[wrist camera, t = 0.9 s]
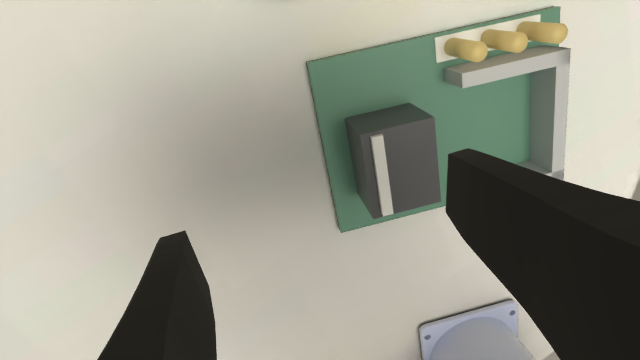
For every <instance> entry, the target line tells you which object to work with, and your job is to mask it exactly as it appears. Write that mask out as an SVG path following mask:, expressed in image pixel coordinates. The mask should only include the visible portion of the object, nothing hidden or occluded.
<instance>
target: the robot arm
mask: <svg viewBox="0 0 640 360" xmlns="http://www.w3.org/2000/svg"><path fill="white" fill-rule="evenodd" d="M446 213H447V215H448V216H449V218H450V219H451V221H452V222H453V224H454V226H455V227H456V229H457V230H458V232H459V233H460V235H461V236H462V237H463V239H464V240H465V242H466V243H467V244H468V245H469V246H470V247H471V249H472V250H473V251H474V252H475V253H476V254H477V255H478V257H479V258H480V259H481V260H482V261H483V262H484V263H485V265H486V266H487V267H488V268H489V269H490V270H491V271H492V273H493V274H494V275H495V276H496V277H497V278H498V279H499V280H500V282H501V283H502V284H503V285H504V286H505V287H506V288H507V289H508V291H509V292H510V293H511V294H512V295H513V296H514V297H515V298H516V300H517V301H518V302H519V303H520V304H521V306H522V307H523V308H524V309H525V311H526V312H527V313H528V314H529V316H530V317H531V318H532V320H533V321H534V323H535V324H536V325H537V327H538V328H539V330H540V331H541V332H542V334H543V335H544V337H545V338H546V339H547V341H548V342H549V344H550V345H551V346H552V348H553V349H554V351H555V352H556V354H557V355H558V357H559V358H560V360H640V201H636V200H632V199H627V198H623V197H619V196H615V195H611V194H607V193H603V192H599V191H596V190H592V189H589V188H586V187H582V186H579V185H576V184H572V183H569V182H566V181H563V180H560V179H557V178H554V177H551V176H548V175H545V174H542V173H539V172H536V171H533V170H530V169H528V168H525V167H522V166H519V165H517V164H514V163H511V162H508V161H506V160H503V159H500V158H497V157H494V156H492V155H489V154H486V153H483V152H480V151H477V150H473V149H470V148H467V149H463V150H460V151H456V152H453V153H450V154H448V169H447V192H446ZM510 311H511V312H510ZM419 334H420V342H421V351H422V359H423V360H536V359H535V358H534V357H533V356H532V355H531V353H530V352H529V351H528V350H527V349H526V347H525V346H524V345H523V344H522V343H521V341H520V340H519V339H518V304H517V303H516V302H515V301H514V300H509V301H505V302H502V303H498V304H495V305H491V306H487V307H484V308H480V309H477V310H473V311H470V312H466V313H463V314H459V315H456V316H452V317H449V318H445V319H442V320H438V321H434V322H431V323H427V324H424V325H422V326H421V327H420V329H419ZM426 335H427V336H426ZM97 360H217V354H216V332H215V319H214V313H213V307H212V301H211V295H210V289H209V285H208V283H207V281H206V278H205V276H204V274H203V271H202V269H201V267H200V264H199V262H198V260H197V257H196V255H195V253H194V250H193V248H192V246H191V243H190V241H189V239H188V236H187V234H186V231H182V232H178V233H175V234H172V235H168V236H165V237H161V238H160V239H159V241H158V242H157V244H156V247H155V249H154V251H153V254H152V256H151V258H150V261H149V263H148V265H147V267H146V270H145V272H144V274H143V276H142V278H141V280H140V283H139V285H138V287H137V289H136V291H135V293H134V295H133V297H132V299H131V301H130V303H129V305H128V307H127V309H126V311H125V313H124V314H123V316H122V318H121V320H120V322H119V323H118V325H117V327H116V329H115V330H114V332H113V334H112V336H111V338H110V339H109V341H108V343H107V345H106V346H105V348H104V350H103V351H102V353H101V354H100V356H99V358H98V359H97Z"/></svg>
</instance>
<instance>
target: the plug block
mask: <svg viewBox="0 0 640 360" xmlns="http://www.w3.org/2000/svg"><path fill="white" fill-rule="evenodd" d="M345 124H346V129H347V135H348V141H349V147H350V153H351V159H352V165H353V170H354V176H355V182H356V188H357V194H358V195H359V197H360V198H361V200H362V202H363V203H364V205H365V207H366V208H367V210H368V211H369V213H370V215H371V216H372V218H373V219H376V218H380V217H384V216H388V215H392V214H396V213H400V212H403V211H407V210H411V209H415V208H419V207H423V206H427V205H430V204H434V203H438V202H441V193H440V180H439V167H438V155H437V142H436V130H435V117H434V116H432V115H430V114H428V113H427V112H425V111H423V110H422V109H420V108H418V107H416V106H415V105H413V104H411V103H406V104H402V105H397V106H393V107H389V108H385V109H381V110H376V111H372V112H368V113H364V114H359V115H355V116H351V117H347V118H345Z"/></svg>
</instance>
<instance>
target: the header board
mask: <svg viewBox="0 0 640 360" xmlns="http://www.w3.org/2000/svg"><path fill="white" fill-rule="evenodd" d="M567 33H568V30H567V27H566V25H565V24H562V23H560V7H549V8H545V9H540V10H536V11H531V12H527V13H522V14H518V15H513V16H509V17H504V18H500V19H495V20H491V21H487V22H482V23H478V24H473V25H469V26H464V27H460V28H455V29H451V30H446V31H442V32H437V33H433V34H428V35H424V36H419V37H415V38H410V39H406V40H401V41H397V42H393V43H388V44H384V45H379V46H375V47H370V48H366V49H361V50H357V51H352V52H348V53H343V54H339V55H334V56H330V57H325V58H321V59H316V60H312V61H307V62H306V64H307V69H308V74H309V79H310V84H311V89H312V94H313V99H314V104H315V109H316V114H317V119H318V124H319V129H320V134H321V139H322V144H323V149H324V154H325V159H326V165H327V170H328V175H329V180H330V185H331V190H332V195H333V200H334V205H335V210H336V215H337V220H338V225H339V229H340V231H341V233H343V232H346V231H350V230H354V229H358V228H362V227H366V226H370V225H373V224H377V223H381V222H385V221H389V220H393V219H397V218H400V217H404V216H408V215H412V214H416V213H420V212H423V211H427V210H431V209H435V208H439V207H443V206H446V192H447V169H448V154H450V153H453V152H456V151H460V150H463V149H467V148H470V149H473V150H477V151H480V152H483V153H486V154H489V155H492V156H494V157H497V158H500V159H503V160H506V161H508V162H511V163H514V164H517V165H519V166H522V167H525V168H528V169H530V170H533V171H536V172H539V173H542V174H545V175H548V176H551V177H554V178H557V179H560V180H563V179H564V160H565V142H566V123H567V105H568V86H569V68H570V49H571V48H564V47H559V43H561V42H563V41H564V40H565V38H566V36H567ZM406 103H411V104H413V105H415V106H416V107H418V108H420V109H422V110H423V111H425V112H427V113H428V114H430V115H432V116H434V117H435V130H436V142H437V155H438V167H439V180H440V193H441V202H438V203H434V204H430V205H427V206H423V207H419V208H415V209H411V210H407V211H403V212H400V213H396V214H392V215H388V216H384V217H380V218H376V219H373V218H372V216H371V215H370V213H369V211H368V210H367V208H366V207H365V205H364V203H363V202H362V200H361V198H360V197H359V195H358V194H357V188H356V182H355V176H354V170H353V165H352V159H351V153H350V147H349V141H348V135H347V129H346V124H345V118H347V117H351V116H355V115H359V114H364V113H368V112H372V111H376V110H381V109H385V108H389V107H393V106H397V105H402V104H406Z"/></svg>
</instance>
